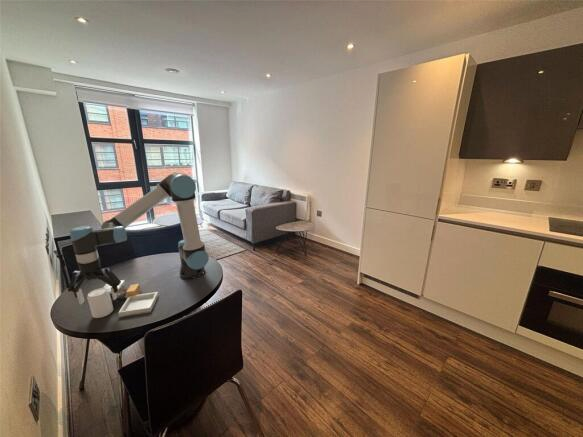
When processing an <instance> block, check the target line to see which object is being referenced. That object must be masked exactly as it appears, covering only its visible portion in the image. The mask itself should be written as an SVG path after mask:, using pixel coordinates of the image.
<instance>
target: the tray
mask: <svg viewBox="0 0 583 437" xmlns="http://www.w3.org/2000/svg"><path fill="white" fill-rule="evenodd" d="M158 298H159V292H158V291H154V292H148V293H140V294H139V295H133V296H129V297H128V298H127V299H126V300H125V302H124V303H123V305H122V306H121V308H120V309H119V311H118V313H117V314H118V317H119V318H123V317H129V316H135V315H142V314H148V313H152V311H153V309H154V307H155V305H156V303H157V301H158Z"/></svg>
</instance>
